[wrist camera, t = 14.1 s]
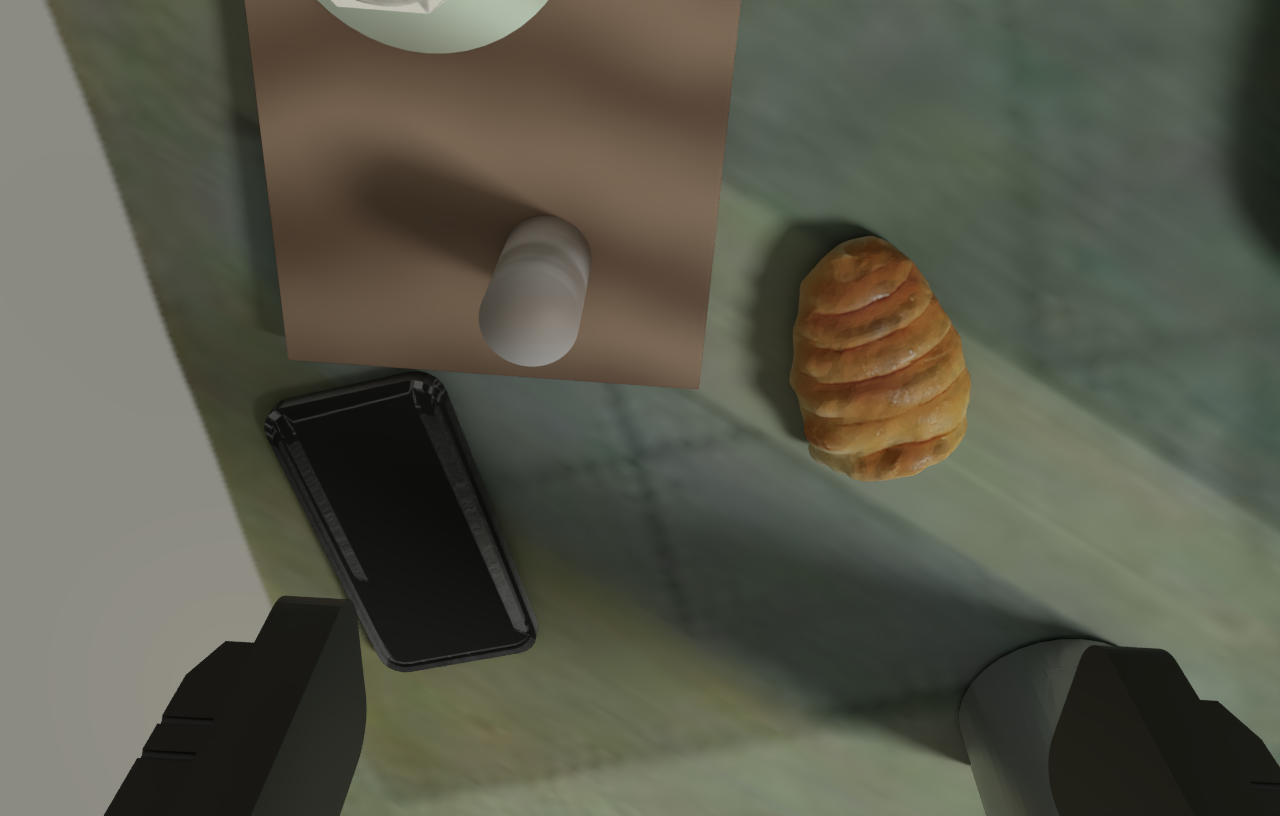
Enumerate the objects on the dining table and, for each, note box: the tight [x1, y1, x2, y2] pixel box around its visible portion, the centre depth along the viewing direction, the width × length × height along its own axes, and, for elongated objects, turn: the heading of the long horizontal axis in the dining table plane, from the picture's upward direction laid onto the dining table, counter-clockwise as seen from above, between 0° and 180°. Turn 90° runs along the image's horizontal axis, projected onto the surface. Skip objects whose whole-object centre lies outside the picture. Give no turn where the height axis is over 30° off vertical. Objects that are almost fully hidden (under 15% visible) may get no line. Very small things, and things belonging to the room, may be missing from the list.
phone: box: [265, 372, 538, 672], centre depth 45 cm, size 8×1×15 cm
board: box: [245, 0, 741, 389], centre depth 32 cm, size 23×16×7 cm
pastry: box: [790, 236, 971, 481], centre depth 38 cm, size 9×7×4 cm
